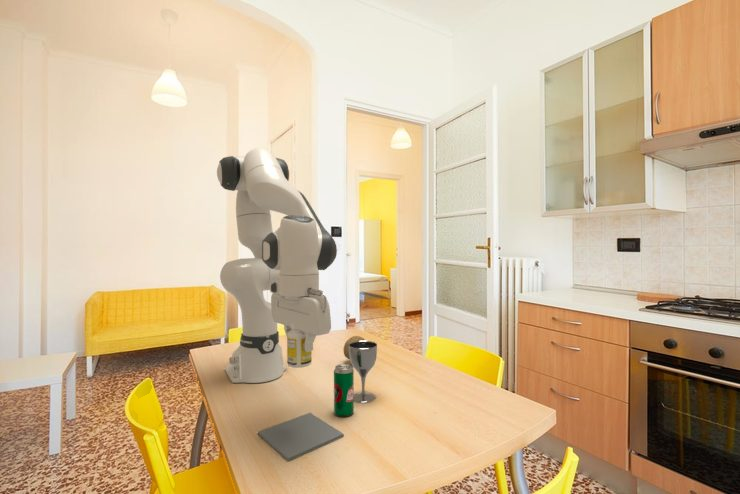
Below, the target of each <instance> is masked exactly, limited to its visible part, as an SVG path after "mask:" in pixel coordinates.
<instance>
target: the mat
mask: <svg viewBox="0 0 740 494" xmlns="http://www.w3.org/2000/svg"><path fill="white" fill-rule="evenodd" d="M257 435H258V436H259V437H260V438H261V439H262V440H263V441H264V442H265V443H267V445H269V446H270V448H272V449H274V450H275V451H276V452H277V453H278V454H279V455H280V456H282V458H283V459H285V461H287V462H290V461H292V460H294V459H297V458H299V457H301V456H303V455H305V454H308V453H310V452H312V451H314V450H316V449H318V448H322V447H324V446H326V445H328V444H330V443H332V442H335V441H337V440H339V439H341V438H343V437H344V436H345V434H344V433H343V432H341V430H339V429H337V428H335V427H334V426H332V425H330V424H329V423H327V422H326V421H324V420H322V419H321V418H320V417H317V415H315V414H313V413H312V412H308V413H305V414H302V415H300V416H297V417H294V418H291V419H289V420H286V421H283V422H280V423H278V424H275V425H272V426H270V427H267V428H264V429H261V430H258V431H257Z"/></svg>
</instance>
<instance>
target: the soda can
mask: <svg viewBox="0 0 740 494" xmlns="http://www.w3.org/2000/svg"><path fill="white" fill-rule="evenodd" d="M354 370H355V369H353V366H352V364H349V363H339V364H337V365H335V368H334V370H333V413H334V414H335V415H336V416H337V417H341V418H347V417H349V416H350V417H351V416H352V414H353V413H354V411H355V407H354V406H355V405H354V403H355V401H354V394H355V391H354V385H355V382H354V380H355V379H354V378H355V377H354V376H355V375H354V372H355V371H354Z"/></svg>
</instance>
